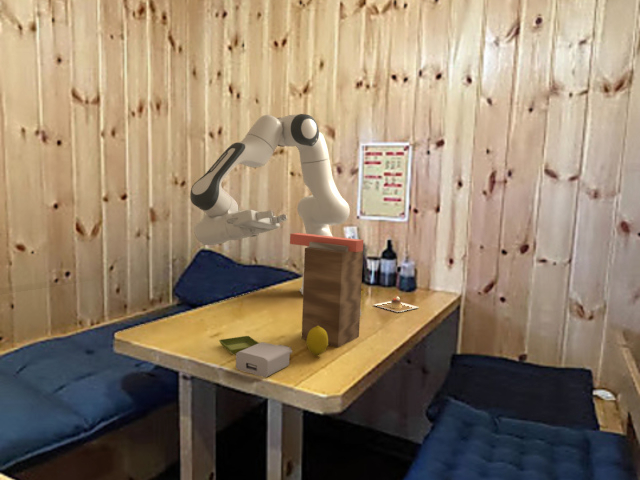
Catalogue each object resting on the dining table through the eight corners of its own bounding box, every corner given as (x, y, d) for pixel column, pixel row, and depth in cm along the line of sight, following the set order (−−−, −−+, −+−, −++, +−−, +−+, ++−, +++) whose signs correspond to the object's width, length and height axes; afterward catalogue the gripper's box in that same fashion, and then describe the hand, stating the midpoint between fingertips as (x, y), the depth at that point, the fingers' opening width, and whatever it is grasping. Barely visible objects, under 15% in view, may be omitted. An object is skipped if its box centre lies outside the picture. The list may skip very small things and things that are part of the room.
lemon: (311, 360, 124) (312, 329, 123) (302, 353, 129) (303, 323, 128) (331, 358, 126) (332, 327, 125) (322, 351, 131) (323, 321, 130)
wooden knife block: (324, 329, 151) (327, 239, 148) (358, 336, 145) (363, 243, 141) (301, 338, 141) (305, 242, 138) (337, 347, 135) (342, 247, 131)
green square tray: (262, 352, 130) (262, 344, 129) (230, 357, 125) (231, 349, 125) (248, 342, 137) (248, 335, 137) (218, 347, 132) (218, 339, 132)
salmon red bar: (297, 242, 149) (298, 232, 148) (362, 250, 137) (363, 239, 137) (289, 243, 145) (290, 233, 145) (356, 252, 134) (356, 241, 133)
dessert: (372, 307, 182) (373, 294, 181) (394, 303, 190) (394, 290, 189) (397, 315, 173) (398, 301, 172) (419, 310, 181) (420, 297, 180)
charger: (303, 360, 125) (267, 379, 112) (273, 352, 130) (235, 370, 117) (303, 341, 124) (267, 358, 112) (273, 334, 129) (236, 350, 116)
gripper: (221, 210, 149) (262, 200, 144) (254, 218, 168) (291, 209, 163) (224, 231, 148) (265, 221, 143) (257, 236, 167) (294, 228, 162)
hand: (279, 215), depth 154 cm, fingers open, 8 cm apart
